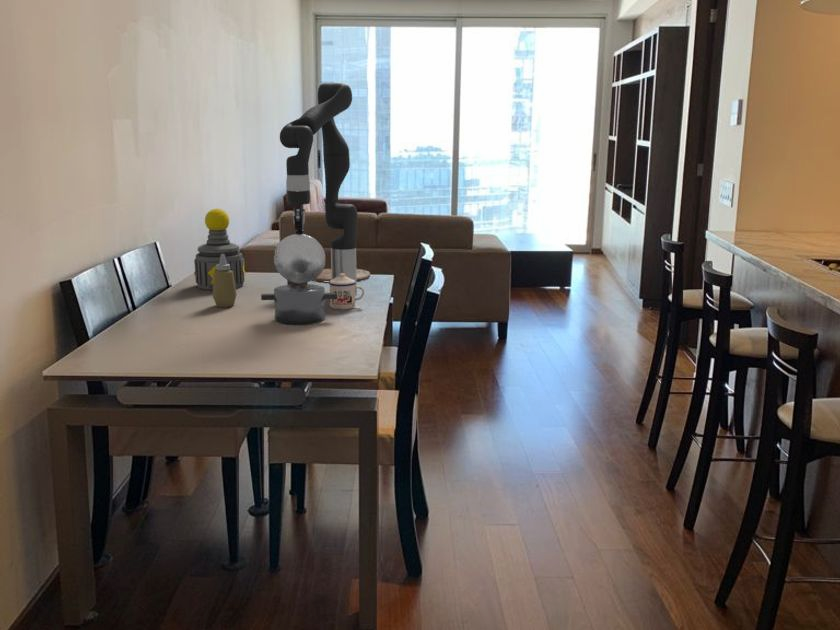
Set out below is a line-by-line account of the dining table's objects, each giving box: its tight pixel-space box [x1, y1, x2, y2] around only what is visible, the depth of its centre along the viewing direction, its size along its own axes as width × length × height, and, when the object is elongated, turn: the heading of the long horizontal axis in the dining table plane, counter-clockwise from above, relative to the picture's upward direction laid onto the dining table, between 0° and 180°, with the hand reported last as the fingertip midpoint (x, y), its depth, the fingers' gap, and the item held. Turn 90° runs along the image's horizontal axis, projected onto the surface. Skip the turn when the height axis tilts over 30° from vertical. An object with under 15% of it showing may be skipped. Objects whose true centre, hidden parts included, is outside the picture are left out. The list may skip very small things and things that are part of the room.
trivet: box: [313, 268, 371, 282], centre depth 332 cm, size 25×25×2 cm
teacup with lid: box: [328, 273, 365, 310], centre depth 276 cm, size 12×9×12 cm
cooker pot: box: [260, 283, 337, 326], centre depth 259 cm, size 16×24×10 cm, turn 95°
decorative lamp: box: [193, 208, 246, 291], centre depth 310 cm, size 19×19×30 cm
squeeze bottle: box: [212, 254, 237, 308], centre depth 277 cm, size 8×8×18 cm
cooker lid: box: [273, 233, 326, 283], centre depth 264 cm, size 17×17×3 cm
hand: (299, 242), depth 264 cm, fingers closed
